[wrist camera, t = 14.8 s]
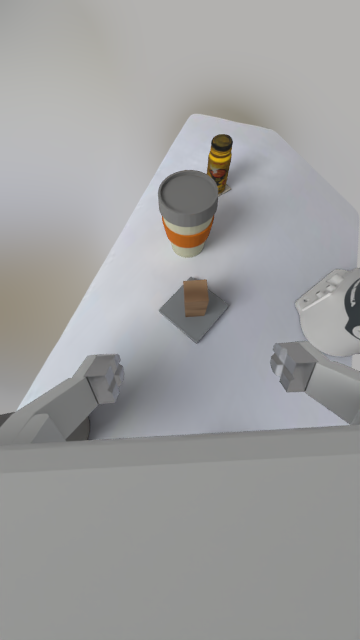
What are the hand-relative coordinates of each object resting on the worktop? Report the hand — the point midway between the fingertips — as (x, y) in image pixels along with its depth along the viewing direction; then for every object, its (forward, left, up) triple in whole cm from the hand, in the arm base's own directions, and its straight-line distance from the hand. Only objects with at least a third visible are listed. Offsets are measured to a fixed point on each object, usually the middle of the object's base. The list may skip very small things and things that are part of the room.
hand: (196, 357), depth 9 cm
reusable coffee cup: (-26, -23, -32) cm, 46 cm away
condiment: (-48, -31, -32) cm, 65 cm away
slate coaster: (-12, -9, -31) cm, 34 cm away
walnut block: (-12, -8, -30) cm, 33 cm away
